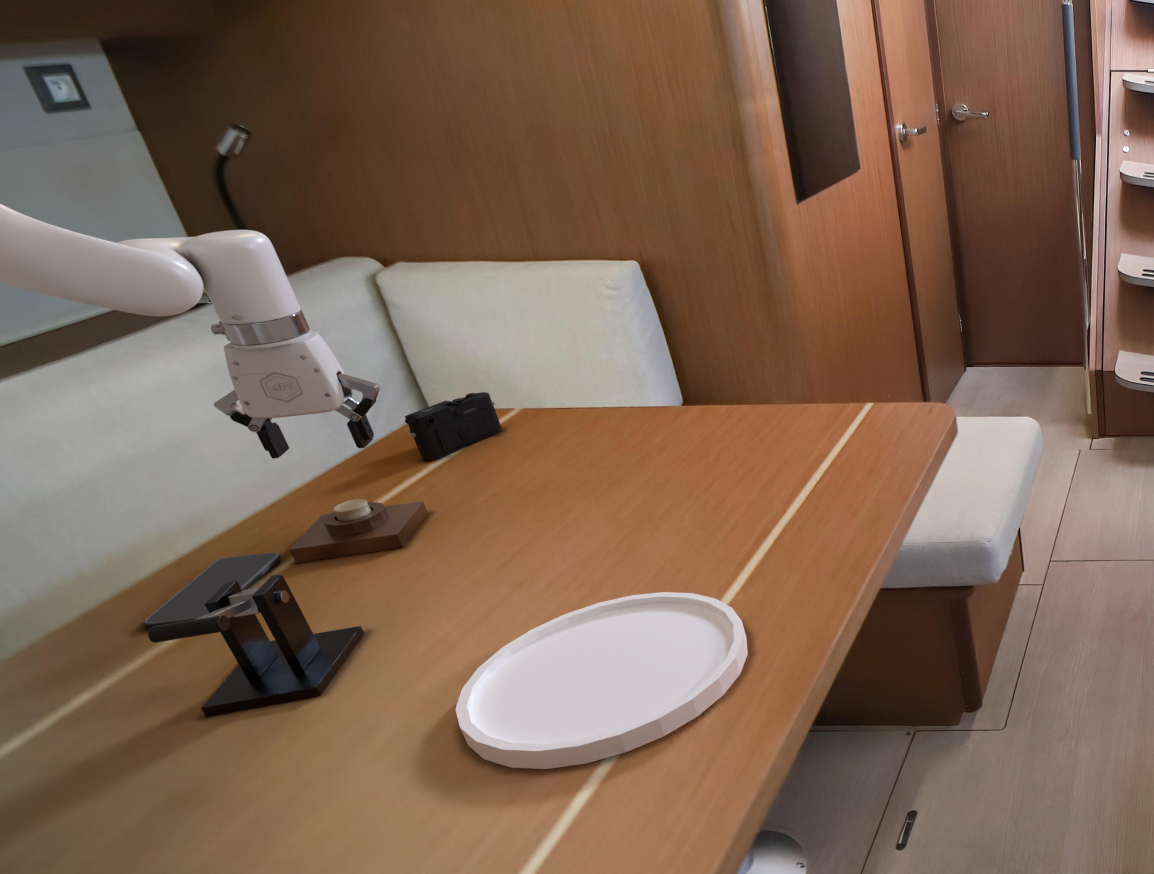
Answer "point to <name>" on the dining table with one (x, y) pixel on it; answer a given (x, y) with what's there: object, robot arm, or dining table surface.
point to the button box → (360, 532)
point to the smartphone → (211, 587)
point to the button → (352, 509)
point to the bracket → (276, 651)
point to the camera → (453, 425)
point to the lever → (207, 619)
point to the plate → (602, 680)
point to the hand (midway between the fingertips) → (323, 448)
